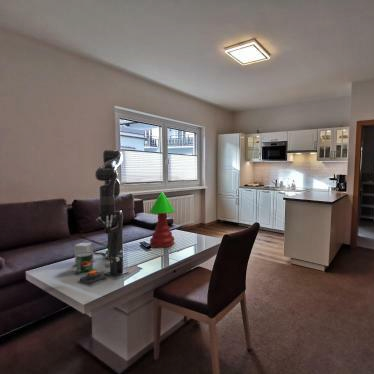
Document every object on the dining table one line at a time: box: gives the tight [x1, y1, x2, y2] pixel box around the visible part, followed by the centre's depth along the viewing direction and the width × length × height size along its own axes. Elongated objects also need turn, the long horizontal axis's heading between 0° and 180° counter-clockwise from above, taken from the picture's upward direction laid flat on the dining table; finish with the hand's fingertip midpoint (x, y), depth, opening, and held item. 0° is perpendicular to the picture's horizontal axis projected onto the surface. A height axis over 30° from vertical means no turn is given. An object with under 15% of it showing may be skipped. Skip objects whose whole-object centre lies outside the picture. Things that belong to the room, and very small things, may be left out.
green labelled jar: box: [74, 242, 95, 266], centre depth 152 cm, size 8×6×13 cm
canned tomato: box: [76, 252, 94, 275], centre depth 139 cm, size 8×8×11 cm
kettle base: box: [104, 255, 129, 279], centre depth 136 cm, size 10×8×11 cm
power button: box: [88, 269, 97, 276], centre depth 128 cm, size 4×4×2 cm
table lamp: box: [149, 191, 176, 249], centre depth 195 cm, size 20×20×45 cm
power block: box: [79, 270, 107, 285], centre depth 128 cm, size 10×8×4 cm
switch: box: [104, 257, 120, 269], centre depth 138 cm, size 12×3×3 cm
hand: (107, 233), depth 133 cm, fingers closed
